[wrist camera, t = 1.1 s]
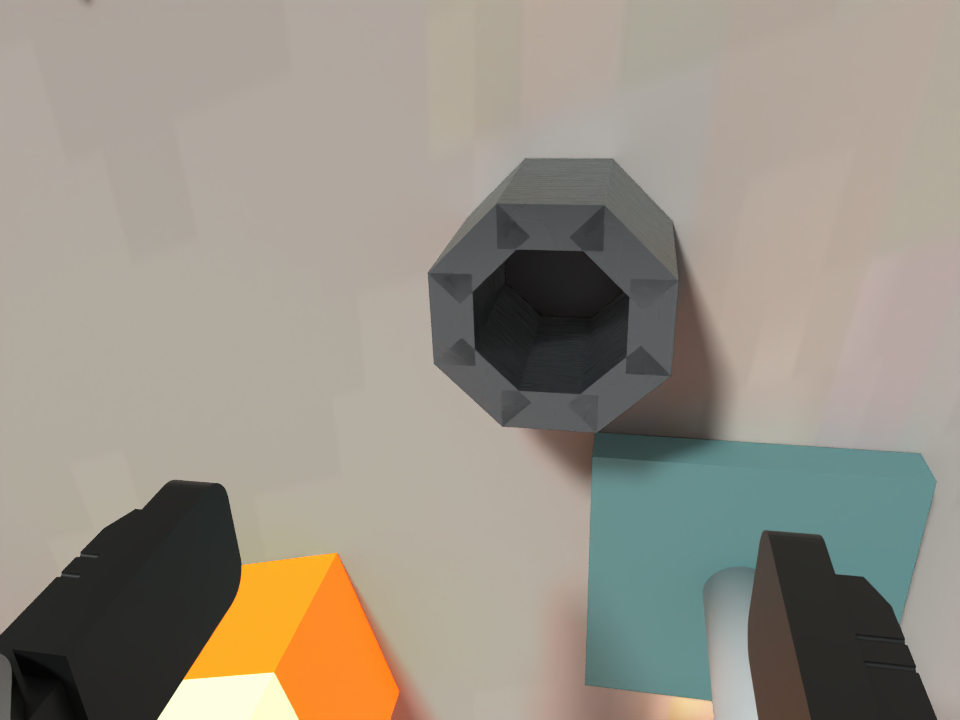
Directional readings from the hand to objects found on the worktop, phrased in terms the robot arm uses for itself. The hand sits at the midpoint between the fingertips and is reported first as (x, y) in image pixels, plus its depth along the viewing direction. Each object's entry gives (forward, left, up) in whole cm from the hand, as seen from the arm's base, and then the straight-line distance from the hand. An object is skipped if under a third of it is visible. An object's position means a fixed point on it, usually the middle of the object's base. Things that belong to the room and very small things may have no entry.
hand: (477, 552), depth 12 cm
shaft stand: (-6, +11, -14) cm, 19 cm away
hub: (0, 0, -14) cm, 14 cm away
